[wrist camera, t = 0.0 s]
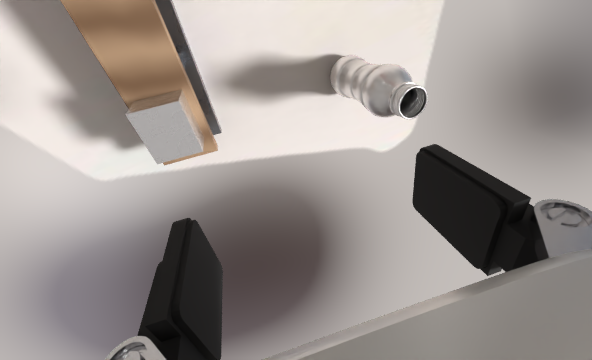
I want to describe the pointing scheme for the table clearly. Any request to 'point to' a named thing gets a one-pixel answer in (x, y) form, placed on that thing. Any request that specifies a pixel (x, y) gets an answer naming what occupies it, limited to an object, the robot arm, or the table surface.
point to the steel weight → (166, 126)
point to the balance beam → (137, 53)
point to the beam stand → (188, 61)
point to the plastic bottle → (378, 87)
